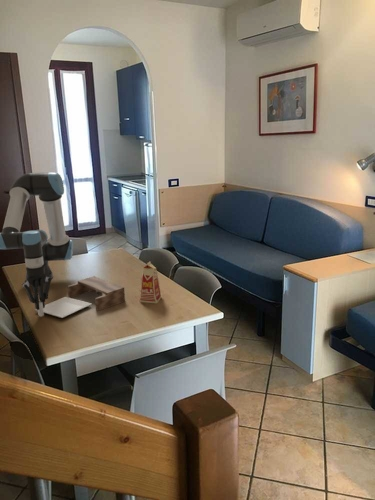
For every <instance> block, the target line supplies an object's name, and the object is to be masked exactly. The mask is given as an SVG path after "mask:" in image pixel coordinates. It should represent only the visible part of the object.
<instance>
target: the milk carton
mask: <svg viewBox="0 0 375 500" xmlns="http://www.w3.org/2000/svg"><path fill="white" fill-rule="evenodd" d="M151 262H152V261H149V262H147V263H146V265H145V266H144V267H143V268H142V274H141V288H140V289H141V290H140V296H139V300H138V301H139V303H147V304H149V303H151V304H158V303H159V301H160V300H161V298H162V293H161V286H160V282H159V281H160V280H159V276H158V275H159V274H158V272H157V271H158V270H157V267H155V266H154V265H153V264H152V263H151Z"/></svg>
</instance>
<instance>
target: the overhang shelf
mask: <svg viewBox="0 0 375 500" xmlns="http://www.w3.org/2000/svg"><path fill="white" fill-rule="evenodd" d="M93 291H96V293H97V294H98V295H100V294H103V295H101V296H97V297H95V298H94V302H95V310H96V311H98V312H99V311H101V310H104V309H106V308H110V307H112V306H116V305H118V304H121V303H124V302H125V301H126V296H125V295H126V294H125V287H124V286H121V285H119V284H116V283H114V282H111V281H108V280H105V279H103V278H100V277H97V276H95V275H93V276H89V277H87V278H83V279H79V280H77V283H73V284H70V285H69V284H68V285H67V294H68V296H67V297H69V298H73V297H76V296H80V295H83V294H86V293H89V292H93Z"/></svg>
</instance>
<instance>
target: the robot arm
mask: <svg viewBox="0 0 375 500" xmlns="http://www.w3.org/2000/svg"><path fill="white" fill-rule="evenodd" d="M8 193H9V196H10V198H9V201H8V207H7V211H6V214H5V219H4V223H3V227H2V231H1V232H0V250H13V249H14V250H15V249H16V250H17V249H23V254H24V255H23V256H24V262H25V269H26V272H25V276H24V277H25V278H24V279H25V281H26V282H24V283H22V284H21V287H23V288H24V289H25V292H26V295H27V296H28V299H29V301H30V303H32V304H34V308H35V309H36V310H38V311H37V315H38V316H39V317H41V318H42V317H45V313H44V311H43V308H45V305H46V304H45V302H46V300H48V299H49V292H50V284H51V282H52V279H53V277H54V275H53V272H52V269H51V268H50V265H49V262H54V261H69V260H71V259H72V258H73V251H74V241H73V240H72V239H70V237H69V235H67V234H66V228H65V222H64V217H63V212H62V207H61V200H60V199H61V198H62V197H63V195H64V193H65V187H64V182H63V179H62V176H61V174H59V173H58V172H51V171H48V172H28V173H24V174H22V175H21V176H18V178H16V179H15V180H14V181H13V183H12V185H11V187H10V188H9V192H8ZM31 196H38V198H39V201H40V202H43V203H42V204H43V209H44V214H45V220H46V222H47V228H48V229H47V230H48V233H49V237H48V234H47V232H46V231H44V230H43V229H36V230H26V231H21V229H22V223H23V218H24V215H25V210H26V204H27V202H28V200H29V199H30V198H31ZM30 286H31V288H30ZM31 289H32V291H31ZM36 310H35V311H36Z"/></svg>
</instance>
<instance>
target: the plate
mask: <svg viewBox="0 0 375 500" xmlns="http://www.w3.org/2000/svg"><path fill="white" fill-rule="evenodd" d="M92 304H93V303H92V302H91V303H90V302H87V301H83V300H79V299H76V298H73V297H71V298H70V297H69V296H64V297H61V298H59V299H56V300H55V301H51V302H49V303H47V304H45V308H43V311H44V314H46V315H50V316H53V317H57V318H60V319H64V318H67V317H69V316H71V315H73V314H75V313H77V312H79V311H81V310H83V309H86V308H88V307H90V306H92ZM34 311H36V312H38V310H36V308H35V309H34Z"/></svg>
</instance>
